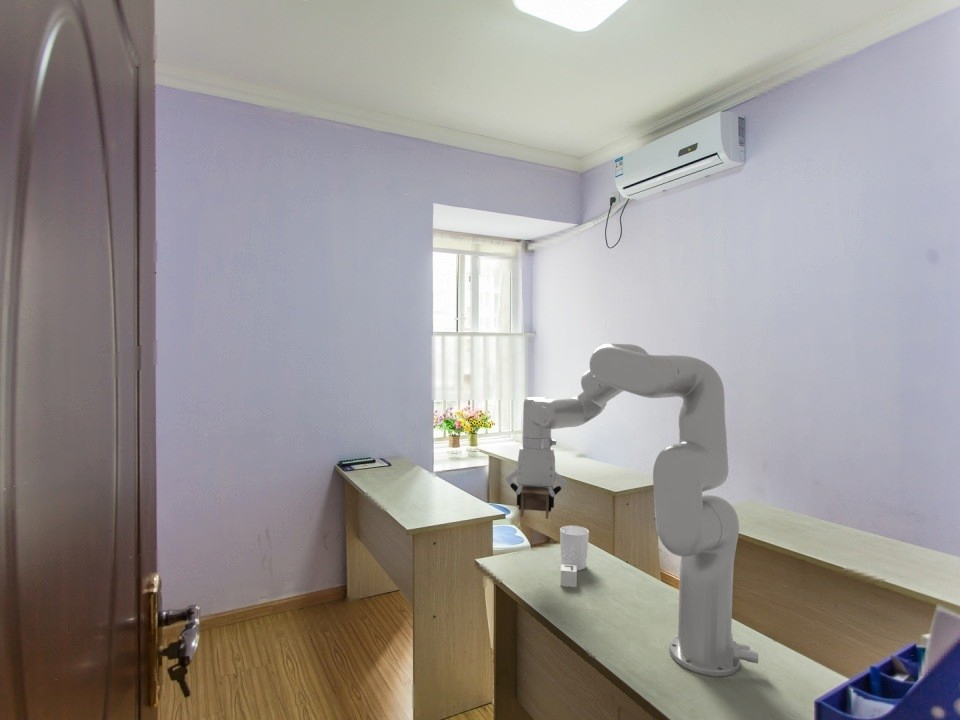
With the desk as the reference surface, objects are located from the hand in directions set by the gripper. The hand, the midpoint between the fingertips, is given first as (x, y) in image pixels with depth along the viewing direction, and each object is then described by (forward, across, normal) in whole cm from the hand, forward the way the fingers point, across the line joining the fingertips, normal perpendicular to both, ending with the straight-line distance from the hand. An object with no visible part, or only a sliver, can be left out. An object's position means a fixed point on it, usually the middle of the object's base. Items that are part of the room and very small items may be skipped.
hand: (535, 508), depth 142 cm
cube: (+17, -9, +5) cm, 20 cm away
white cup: (+17, -11, -7) cm, 21 cm away
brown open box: (+1, 0, 0) cm, 1 cm away
